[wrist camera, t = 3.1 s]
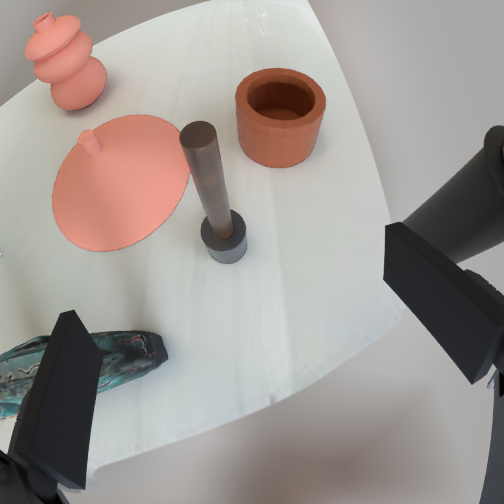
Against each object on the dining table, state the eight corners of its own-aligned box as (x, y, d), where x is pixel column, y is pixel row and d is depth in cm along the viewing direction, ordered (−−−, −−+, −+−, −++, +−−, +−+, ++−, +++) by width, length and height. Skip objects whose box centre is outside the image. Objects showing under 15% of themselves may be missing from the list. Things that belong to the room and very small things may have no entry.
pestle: (253, 235, 35) (253, 118, 15) (236, 270, 34) (213, 181, 14) (219, 220, 35) (184, 97, 16) (201, 253, 34) (141, 154, 15)
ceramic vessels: (219, 195, 36) (192, 77, 18) (73, 281, 33) (-38, 234, 15) (133, 56, 44) (105, -24, 26) (36, 114, 42) (-14, 49, 23)
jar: (324, 125, 39) (336, 85, 31) (298, 180, 37) (308, 142, 29) (258, 100, 40) (258, 59, 33) (225, 150, 38) (219, 110, 30)
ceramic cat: (49, 407, 29) (-68, 431, 10) (34, 360, 30) (-86, 356, 11) (181, 370, 31) (88, 409, 11) (160, 315, 32) (52, 284, 13)
